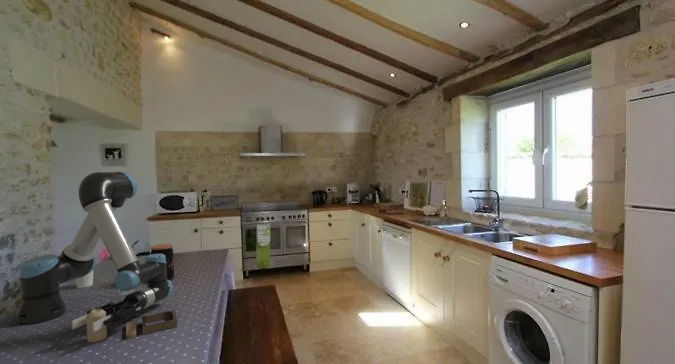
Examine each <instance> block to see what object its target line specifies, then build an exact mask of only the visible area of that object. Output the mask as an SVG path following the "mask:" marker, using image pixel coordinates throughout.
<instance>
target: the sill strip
mask: <svg viewBox="0 0 675 364" xmlns="http://www.w3.org/2000/svg"><path fill="white" fill-rule="evenodd" d="M125 327H126V329H125V339H126V340H128V339H132V338H133V339H134V338H136V337H137V321H136V320H133V321H128V322H126V325H125Z"/></svg>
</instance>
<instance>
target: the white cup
mask: <svg viewBox="0 0 675 364" xmlns="http://www.w3.org/2000/svg"><path fill="white" fill-rule="evenodd" d="M75 284H76V288H77V289H83V288H89V287H92V286H93V285H94V269H93V270H92V271H91V272H90V273H89V274H87V275H85V276H83V277H81V278H78V279H75Z"/></svg>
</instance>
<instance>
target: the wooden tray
mask: <svg viewBox="0 0 675 364" xmlns="http://www.w3.org/2000/svg"><path fill="white" fill-rule="evenodd" d="M168 319H169V320H168ZM170 319H171V320H170ZM162 320H163V321H162ZM164 320H165V321H164ZM166 320H167V321H166ZM160 321H162V322H160ZM153 322H157V323H153ZM141 323H142V326H141V327H142V335H143V334H144V335H148V334H153V333H155V332H160V331H164V330H169V329H173V328H177V327H178V319H177V314H176V311H175V309H172V310H167V311H162V312H157V313H151V314H148V315H147V314H146V315H143V316H141ZM149 323H152V324H149ZM146 324H148V325H146ZM147 333H148V334H147Z"/></svg>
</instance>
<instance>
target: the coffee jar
mask: <svg viewBox="0 0 675 364" xmlns="http://www.w3.org/2000/svg"><path fill="white" fill-rule="evenodd" d="M173 247H174V244H172V243H162V244H161V243H160V244H156V245H152V246H150V250H151V251H150V255H152V254H164V255H165V258H166V270H167V280H170V281H172V280H173V278H175V266H174V265H175V264H174V262H175V261H174V249H173Z"/></svg>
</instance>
